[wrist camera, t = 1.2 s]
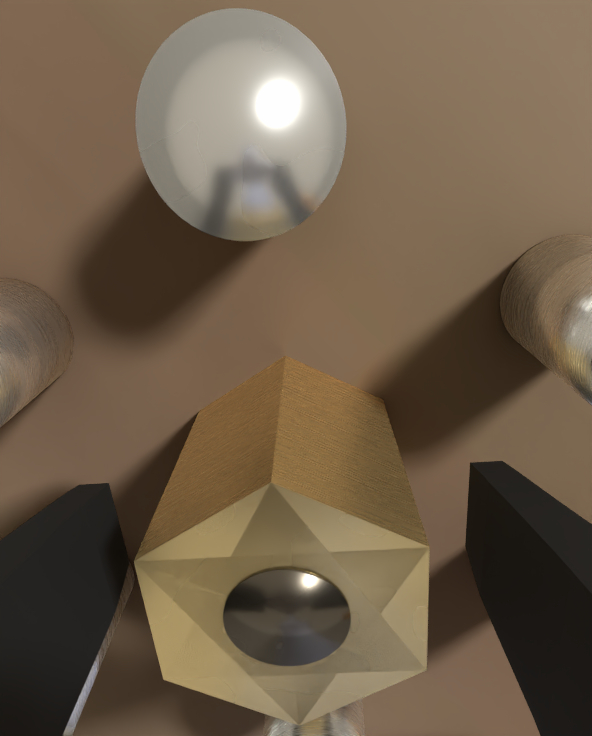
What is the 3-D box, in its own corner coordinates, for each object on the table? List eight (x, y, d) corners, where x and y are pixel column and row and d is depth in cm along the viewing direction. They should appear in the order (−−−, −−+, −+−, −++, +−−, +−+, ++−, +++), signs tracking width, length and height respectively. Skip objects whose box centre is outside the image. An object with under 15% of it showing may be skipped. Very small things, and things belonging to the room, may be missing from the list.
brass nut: (385, 529, 13) (426, 724, 9) (220, 537, 14) (175, 732, 9) (381, 349, 12) (432, 475, 7) (191, 361, 12) (114, 492, 7)
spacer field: (560, 676, 15) (641, 841, 12) (82, 693, 16) (14, 853, 12) (665, 29, 9) (909, -60, 5) (-120, 104, 10) (-376, 69, 6)
